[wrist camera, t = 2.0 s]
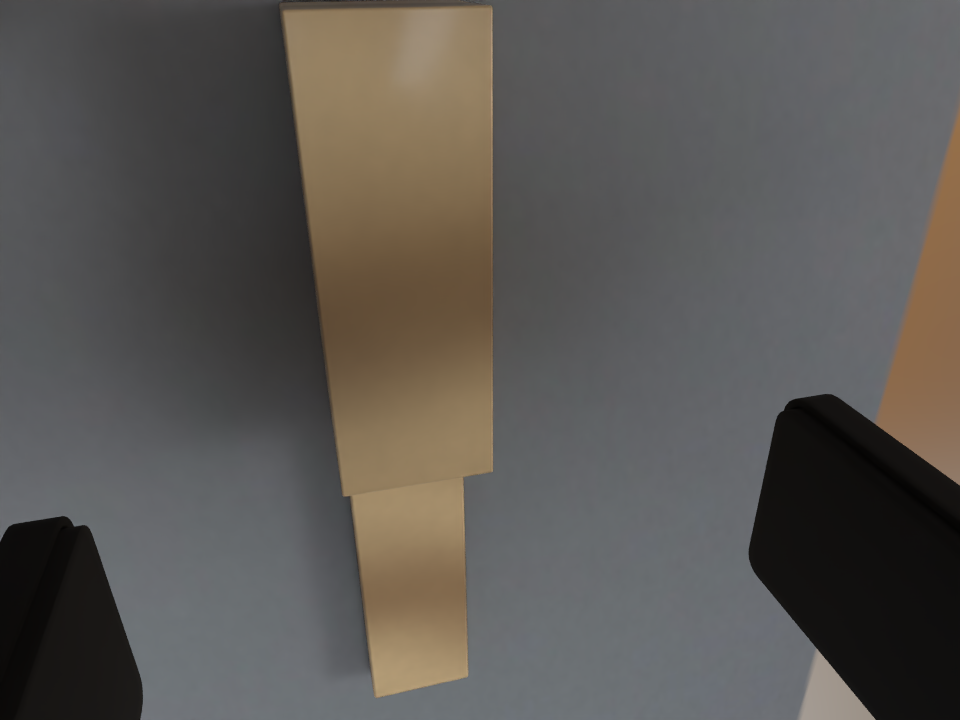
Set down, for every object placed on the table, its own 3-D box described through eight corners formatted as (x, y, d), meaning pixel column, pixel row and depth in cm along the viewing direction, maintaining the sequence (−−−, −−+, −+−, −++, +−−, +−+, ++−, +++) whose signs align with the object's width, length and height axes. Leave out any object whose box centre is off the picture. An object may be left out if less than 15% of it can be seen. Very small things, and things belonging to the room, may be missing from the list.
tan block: (278, 1, 13) (281, 10, 10) (451, -1, 14) (493, 5, 11) (363, 672, 22) (376, 766, 19) (467, 649, 22) (493, 737, 20)
